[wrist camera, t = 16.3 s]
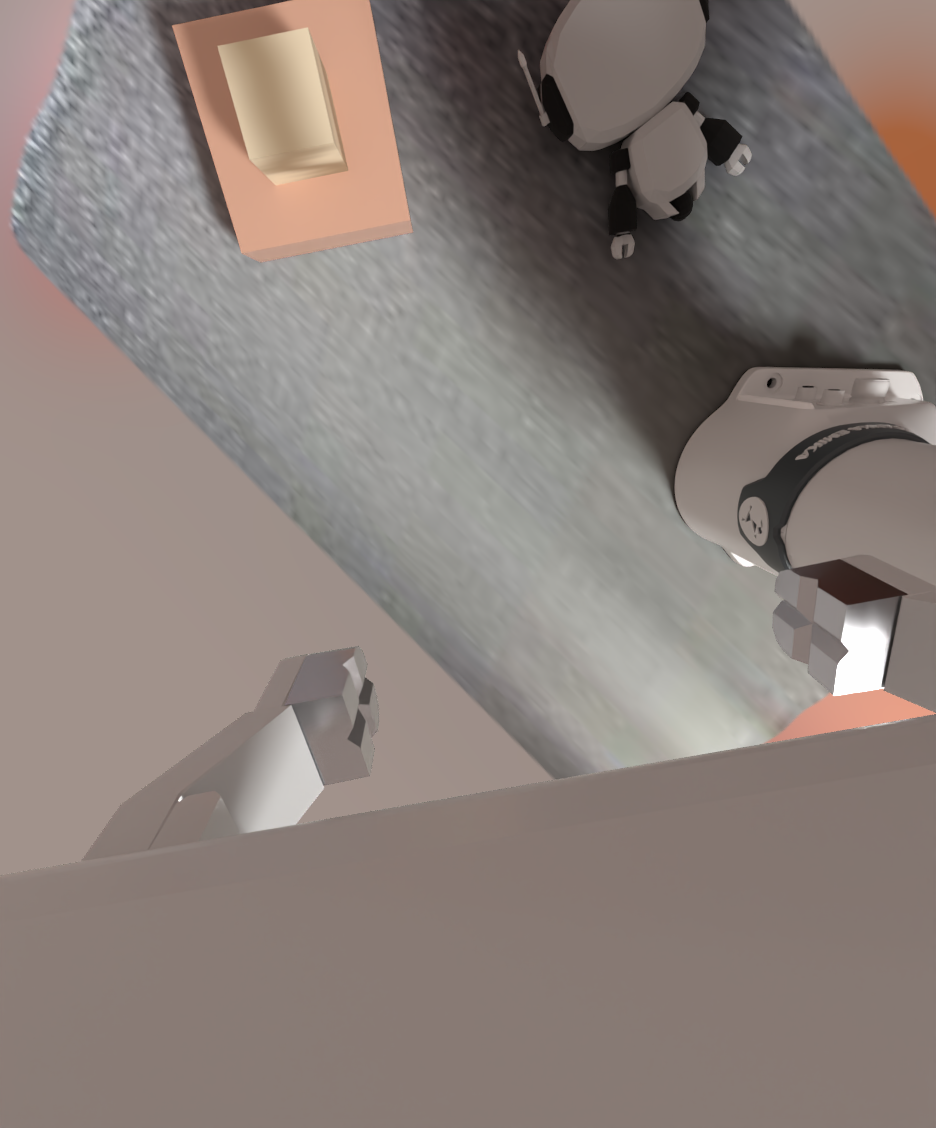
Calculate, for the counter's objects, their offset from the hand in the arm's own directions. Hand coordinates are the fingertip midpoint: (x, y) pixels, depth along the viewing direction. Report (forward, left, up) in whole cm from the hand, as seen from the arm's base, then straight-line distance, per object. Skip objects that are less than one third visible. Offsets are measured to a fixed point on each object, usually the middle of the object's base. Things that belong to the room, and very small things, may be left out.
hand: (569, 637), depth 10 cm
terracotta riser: (+8, -20, -37) cm, 43 cm away
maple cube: (+8, -20, -33) cm, 39 cm away
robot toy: (-15, -18, -38) cm, 44 cm away
